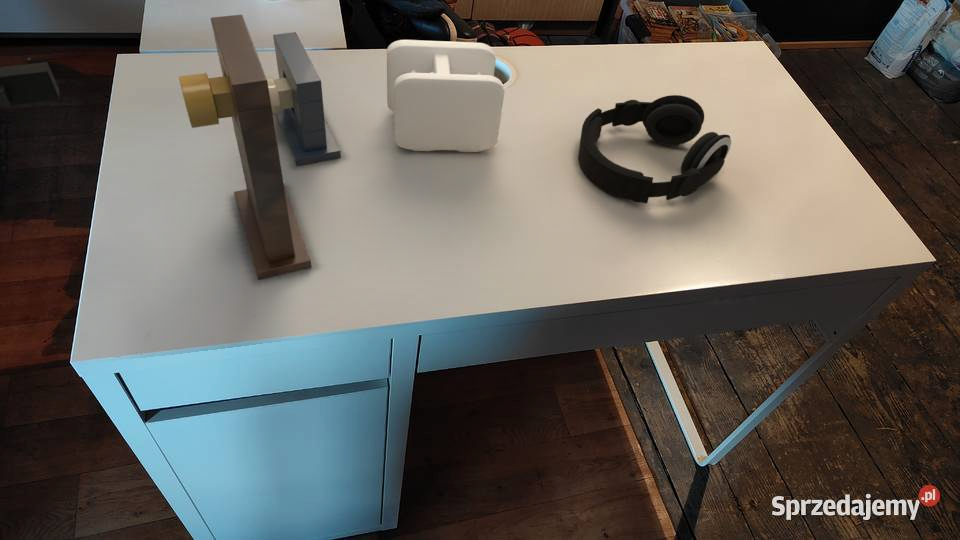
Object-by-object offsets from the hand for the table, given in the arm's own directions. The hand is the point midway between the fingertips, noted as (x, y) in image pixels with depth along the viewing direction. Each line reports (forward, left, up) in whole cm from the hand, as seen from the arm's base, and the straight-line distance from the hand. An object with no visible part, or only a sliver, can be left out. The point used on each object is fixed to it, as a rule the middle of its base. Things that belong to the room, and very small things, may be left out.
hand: (53, 80), depth 57 cm
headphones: (+64, -21, -23) cm, 71 cm away
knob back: (+25, +11, -19) cm, 34 cm away
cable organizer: (+44, +1, -23) cm, 49 cm away
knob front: (+12, -4, -6) cm, 14 cm away
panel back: (+28, +11, -23) cm, 38 cm away
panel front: (+15, -4, -23) cm, 28 cm away
